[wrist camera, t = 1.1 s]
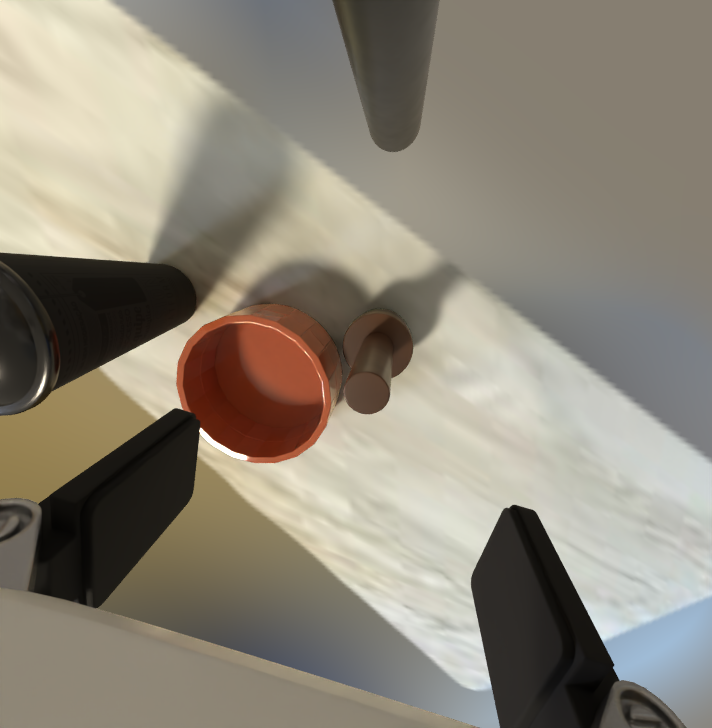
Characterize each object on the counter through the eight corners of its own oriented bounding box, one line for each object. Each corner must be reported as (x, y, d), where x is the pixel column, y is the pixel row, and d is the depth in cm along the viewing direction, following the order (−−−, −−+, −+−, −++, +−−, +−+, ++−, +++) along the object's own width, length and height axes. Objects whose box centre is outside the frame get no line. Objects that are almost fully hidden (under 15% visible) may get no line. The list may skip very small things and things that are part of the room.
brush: (357, 298, 26) (327, 332, 16) (419, 314, 26) (431, 360, 16) (343, 357, 28) (308, 423, 17) (401, 373, 28) (401, 449, 17)
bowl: (219, 287, 27) (181, 296, 22) (356, 323, 27) (346, 340, 22) (207, 410, 31) (172, 440, 26) (327, 444, 30) (313, 480, 26)
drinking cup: (128, 229, 27) (-533, 186, 8) (222, 266, 27) (-213, 313, 8) (117, 321, 29) (-401, 457, 10) (202, 355, 29) (-160, 551, 10)
